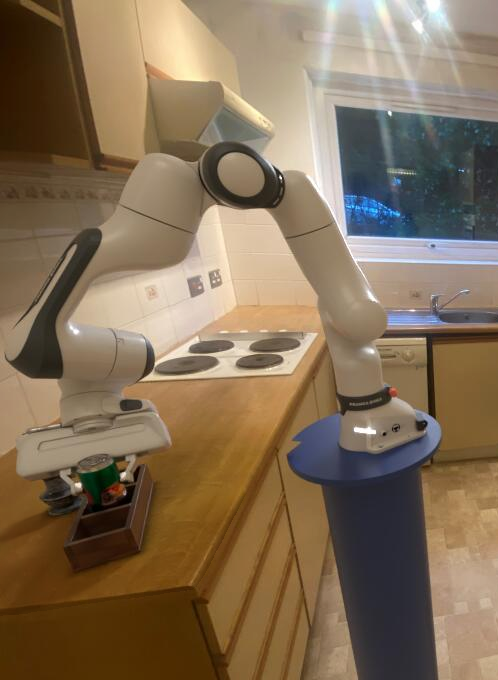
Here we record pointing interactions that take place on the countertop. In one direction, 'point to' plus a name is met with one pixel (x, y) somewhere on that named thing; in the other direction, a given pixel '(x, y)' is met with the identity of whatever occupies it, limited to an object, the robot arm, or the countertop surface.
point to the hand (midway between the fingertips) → (104, 488)
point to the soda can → (102, 482)
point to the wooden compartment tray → (110, 526)
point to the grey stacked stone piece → (59, 496)
